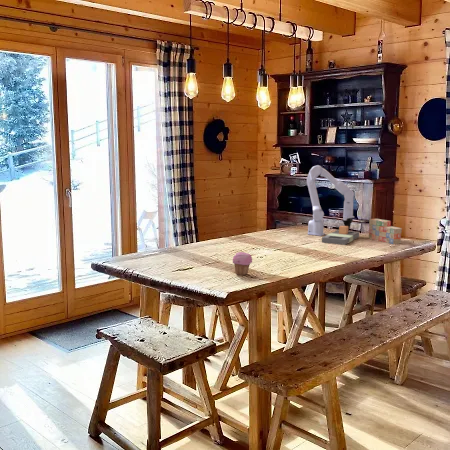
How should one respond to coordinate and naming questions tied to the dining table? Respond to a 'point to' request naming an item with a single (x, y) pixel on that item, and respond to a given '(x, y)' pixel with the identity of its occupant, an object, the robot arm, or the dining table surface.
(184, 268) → the dining table surface
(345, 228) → the block
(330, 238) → the trap deck
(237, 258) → the cupcake
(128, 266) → the dining table surface
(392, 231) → the stack of blocks
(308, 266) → the dining table surface
